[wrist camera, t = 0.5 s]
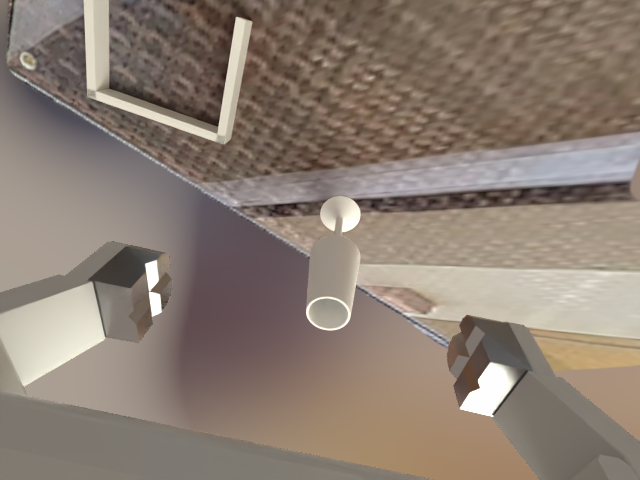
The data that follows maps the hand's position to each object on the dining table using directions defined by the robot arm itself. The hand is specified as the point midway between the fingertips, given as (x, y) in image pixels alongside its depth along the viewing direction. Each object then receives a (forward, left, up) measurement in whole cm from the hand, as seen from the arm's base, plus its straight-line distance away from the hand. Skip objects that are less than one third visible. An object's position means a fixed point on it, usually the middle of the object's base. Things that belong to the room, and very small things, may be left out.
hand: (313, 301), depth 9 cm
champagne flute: (+18, +5, -44) cm, 48 cm away
